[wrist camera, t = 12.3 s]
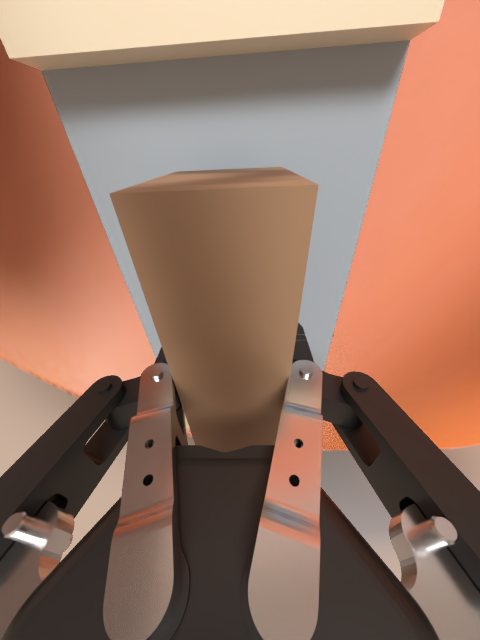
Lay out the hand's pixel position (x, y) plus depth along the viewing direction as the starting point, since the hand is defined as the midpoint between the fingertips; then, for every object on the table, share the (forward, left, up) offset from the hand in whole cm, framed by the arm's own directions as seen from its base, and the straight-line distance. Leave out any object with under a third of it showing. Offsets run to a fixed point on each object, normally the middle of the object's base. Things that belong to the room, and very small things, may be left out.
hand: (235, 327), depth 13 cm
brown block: (0, 0, -1) cm, 1 cm away
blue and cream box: (0, 0, -8) cm, 8 cm away
